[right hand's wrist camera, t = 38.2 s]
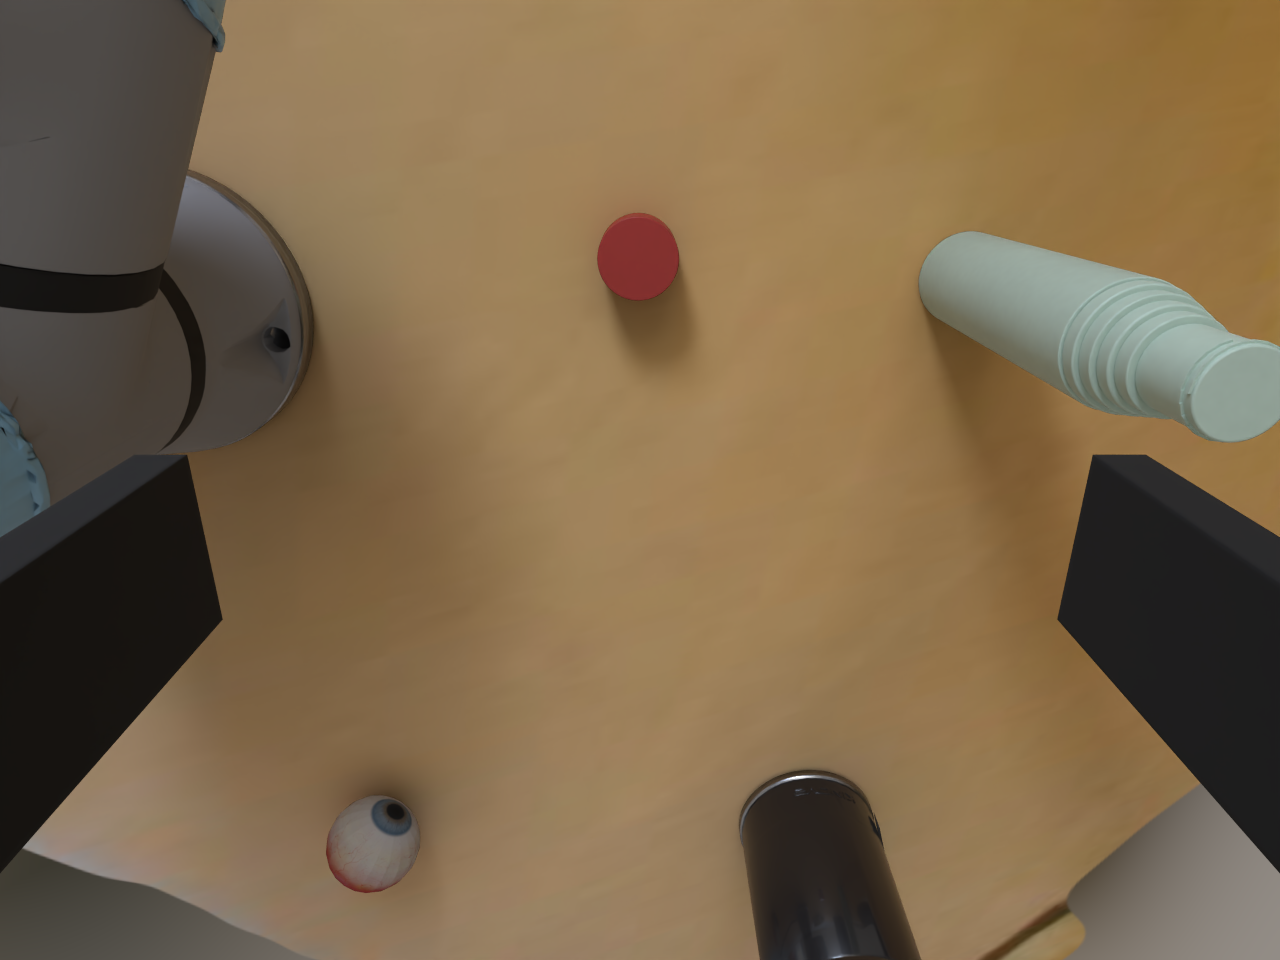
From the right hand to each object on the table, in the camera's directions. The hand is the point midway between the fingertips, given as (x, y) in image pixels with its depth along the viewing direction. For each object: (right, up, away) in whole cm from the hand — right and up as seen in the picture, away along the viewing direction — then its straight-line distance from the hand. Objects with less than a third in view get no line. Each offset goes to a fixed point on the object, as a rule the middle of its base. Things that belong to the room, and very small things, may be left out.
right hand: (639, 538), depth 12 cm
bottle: (+18, +12, +33) cm, 39 cm away
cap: (0, +12, +30) cm, 33 cm away
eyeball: (-18, -22, +47) cm, 55 cm away
